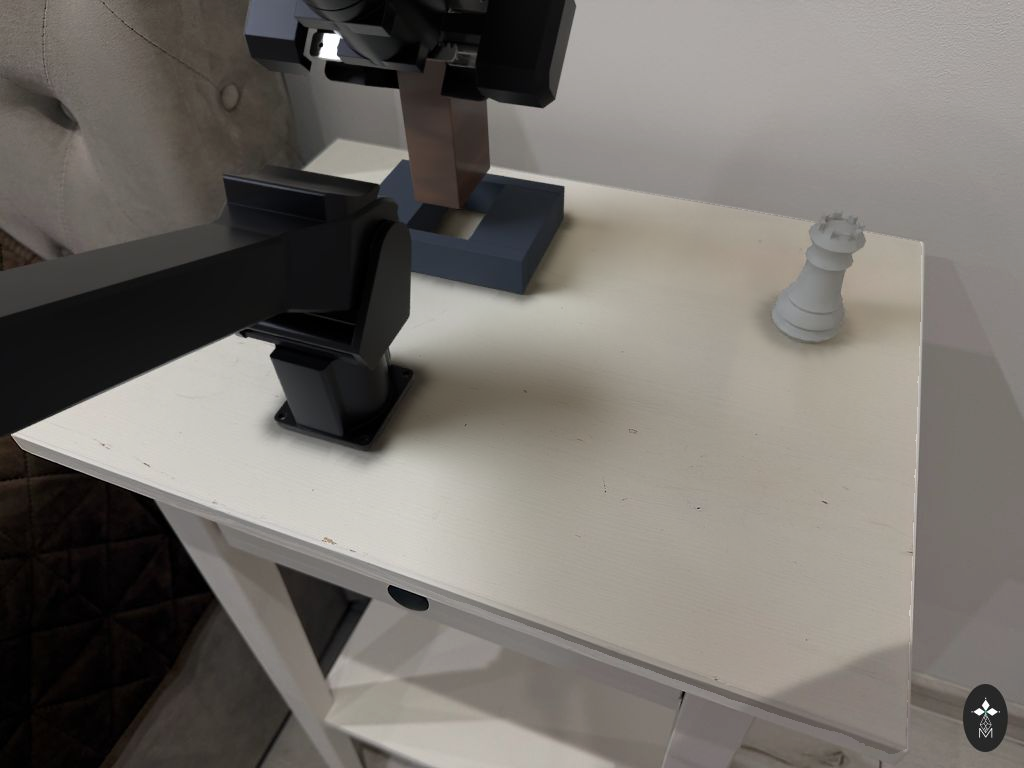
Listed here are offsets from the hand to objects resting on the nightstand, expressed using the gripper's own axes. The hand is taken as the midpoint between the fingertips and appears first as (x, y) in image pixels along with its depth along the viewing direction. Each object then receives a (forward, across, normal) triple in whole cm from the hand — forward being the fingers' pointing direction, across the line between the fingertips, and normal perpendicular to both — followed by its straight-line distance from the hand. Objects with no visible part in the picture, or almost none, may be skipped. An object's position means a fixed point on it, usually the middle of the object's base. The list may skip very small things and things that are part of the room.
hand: (453, 87), depth 47 cm
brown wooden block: (+4, 0, +6) cm, 7 cm away
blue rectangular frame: (+7, 0, +9) cm, 11 cm away
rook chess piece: (+6, -26, +10) cm, 29 cm away
